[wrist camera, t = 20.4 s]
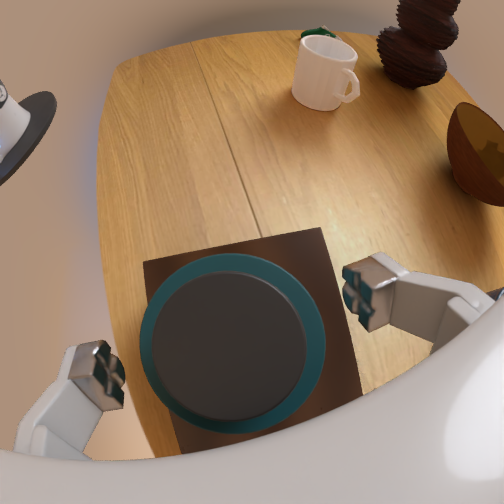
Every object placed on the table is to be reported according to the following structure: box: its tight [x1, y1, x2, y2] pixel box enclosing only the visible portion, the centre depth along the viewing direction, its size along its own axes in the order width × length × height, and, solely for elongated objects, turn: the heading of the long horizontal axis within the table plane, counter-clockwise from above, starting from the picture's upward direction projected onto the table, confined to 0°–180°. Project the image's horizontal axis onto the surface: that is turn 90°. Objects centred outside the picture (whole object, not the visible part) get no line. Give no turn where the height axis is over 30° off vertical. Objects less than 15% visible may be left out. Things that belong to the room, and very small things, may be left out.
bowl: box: [447, 102, 504, 207], centre depth 29 cm, size 18×18×10 cm
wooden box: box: [143, 227, 363, 454], centre depth 21 cm, size 14×20×8 cm
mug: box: [291, 35, 360, 111], centre depth 32 cm, size 8×12×10 cm
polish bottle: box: [140, 253, 326, 434], centre depth 12 cm, size 5×5×14 cm
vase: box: [376, 0, 460, 90], centre depth 27 cm, size 15×15×30 cm
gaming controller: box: [301, 25, 343, 42], centre depth 42 cm, size 9×4×6 cm
